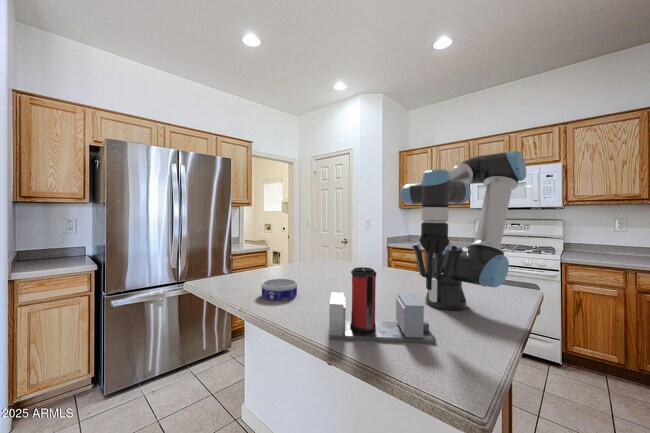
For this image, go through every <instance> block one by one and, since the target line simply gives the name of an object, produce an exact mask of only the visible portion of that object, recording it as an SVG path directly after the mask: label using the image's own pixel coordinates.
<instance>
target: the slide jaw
mask: <svg viewBox="0 0 650 433" xmlns="http://www.w3.org/2000/svg"><path fill="white" fill-rule="evenodd" d="M424 307H425V306H424V305H423V302H421V301H420V299H419V298H418V297H417V296H416V294H415V293H403V292H402V293H400V292H399V293H397V296H396V298H395V320H396V322H398V324H399V326H400V328H401V330H402V332H403V333H404V336H405V337H416V338H423V331H429V330H430V323H429V322H428V321H425V319H424V315H425V311H424V310H425V308H424Z"/></svg>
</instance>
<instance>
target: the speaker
mask: <svg viewBox="0 0 650 433" xmlns="http://www.w3.org/2000/svg"><path fill="white" fill-rule="evenodd" d="M350 273H351V285H352V286H351V319H350V320H351V324H350V326H351V328H352V329H354V330H356V331H359V332H361V331H364V332H370V331H372V330H374V329H375V328H376V324H375V321H376V286H377V285H376V283H377V282H376V278H377V277H376V276H377V271H375V269H373V268H370V267H363V266H362V267H359V266H358V267H354V268H353V269H352V270H351V271H350Z"/></svg>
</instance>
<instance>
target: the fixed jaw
mask: <svg viewBox="0 0 650 433" xmlns="http://www.w3.org/2000/svg"><path fill="white" fill-rule="evenodd" d="M346 304H347V303H346V296H345V295H344V292H335V291H334V292H331V293H330V299H329V307H328V308H329V312H328V314H329V315H328V316H329V322H328V323H329V324H328V326H329V329H328V334H329V335H339V336H343V331H344V332H345V320H346V310H347V309H346ZM329 335H328V336H329Z"/></svg>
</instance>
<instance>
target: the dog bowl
mask: <svg viewBox="0 0 650 433" xmlns="http://www.w3.org/2000/svg"><path fill="white" fill-rule="evenodd" d="M297 295H298V281H296V280H295V279H291V278H271V279H266V280H262V281H261V298H262V299H263V300H266V301H270V300H271V301H273V302H281V301H283V302H284V301H289V300H293V299H295V298H297Z"/></svg>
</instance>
